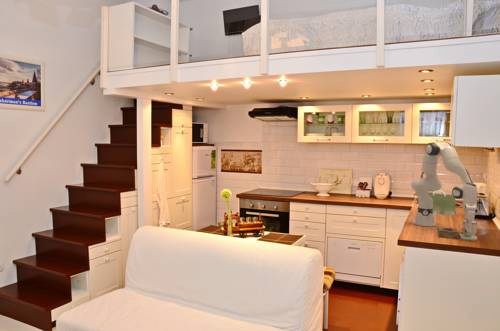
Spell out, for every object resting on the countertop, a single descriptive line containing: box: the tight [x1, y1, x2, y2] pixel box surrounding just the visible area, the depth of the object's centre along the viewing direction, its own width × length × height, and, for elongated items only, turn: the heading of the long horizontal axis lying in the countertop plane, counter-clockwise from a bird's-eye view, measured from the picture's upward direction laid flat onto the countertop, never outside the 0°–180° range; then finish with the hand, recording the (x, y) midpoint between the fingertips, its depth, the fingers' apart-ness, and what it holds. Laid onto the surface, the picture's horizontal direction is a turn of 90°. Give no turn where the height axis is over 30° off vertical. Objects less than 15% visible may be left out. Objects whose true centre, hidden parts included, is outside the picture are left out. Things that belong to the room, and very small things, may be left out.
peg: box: [464, 221, 472, 237], centre depth 277 cm, size 4×4×11 cm
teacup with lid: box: [458, 219, 477, 236], centre depth 293 cm, size 12×9×12 cm
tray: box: [458, 232, 478, 242], centre depth 278 cm, size 12×10×2 cm
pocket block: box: [437, 226, 459, 240], centre depth 282 cm, size 12×12×5 cm
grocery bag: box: [428, 189, 457, 216], centre depth 374 cm, size 32×14×23 cm, turn 72°
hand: (468, 224), depth 277 cm, fingers open, 8 cm apart
